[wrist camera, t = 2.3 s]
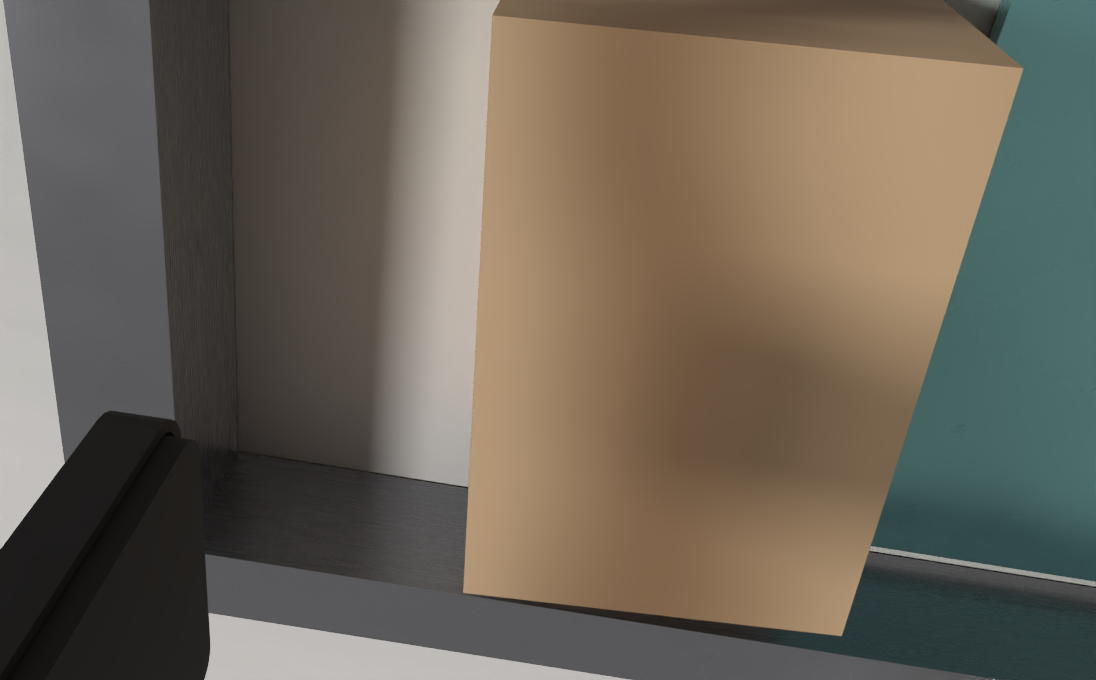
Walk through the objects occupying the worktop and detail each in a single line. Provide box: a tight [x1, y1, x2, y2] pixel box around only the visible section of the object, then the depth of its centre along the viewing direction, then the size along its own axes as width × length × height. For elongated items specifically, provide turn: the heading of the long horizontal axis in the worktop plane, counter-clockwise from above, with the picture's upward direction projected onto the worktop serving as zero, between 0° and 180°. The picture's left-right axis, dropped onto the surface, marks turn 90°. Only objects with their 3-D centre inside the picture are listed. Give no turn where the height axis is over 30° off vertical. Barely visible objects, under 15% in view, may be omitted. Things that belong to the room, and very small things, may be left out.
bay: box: [3, 0, 1096, 680], centre depth 17 cm, size 23×16×3 cm
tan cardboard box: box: [463, 0, 1024, 636], centre depth 16 cm, size 6×9×5 cm, turn 175°
